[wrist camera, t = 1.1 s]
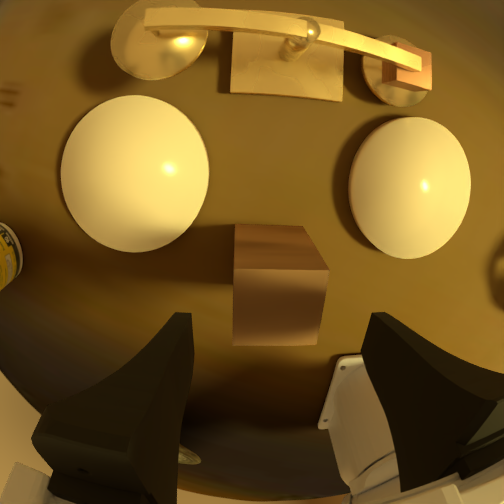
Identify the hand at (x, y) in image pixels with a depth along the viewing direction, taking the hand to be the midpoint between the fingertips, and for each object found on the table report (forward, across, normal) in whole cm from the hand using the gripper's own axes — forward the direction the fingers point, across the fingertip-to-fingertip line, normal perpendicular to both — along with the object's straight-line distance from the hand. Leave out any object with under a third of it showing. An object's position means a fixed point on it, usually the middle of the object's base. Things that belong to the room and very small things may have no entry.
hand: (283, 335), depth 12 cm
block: (+8, 0, 0) cm, 8 cm away
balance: (+8, 0, -12) cm, 14 cm away
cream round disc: (+8, +8, -5) cm, 12 cm away
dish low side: (+8, -9, -5) cm, 13 cm away
